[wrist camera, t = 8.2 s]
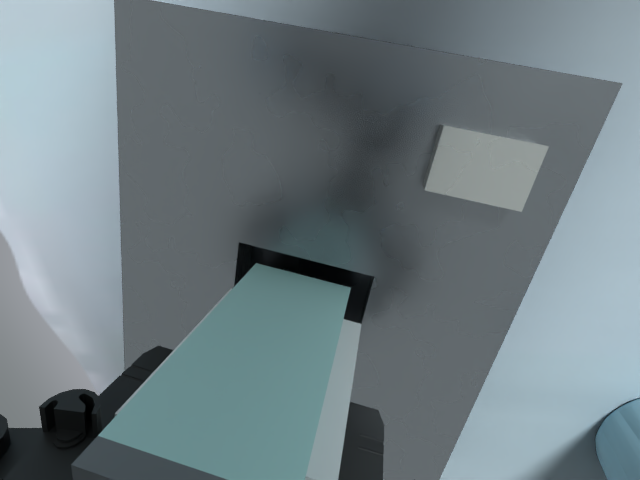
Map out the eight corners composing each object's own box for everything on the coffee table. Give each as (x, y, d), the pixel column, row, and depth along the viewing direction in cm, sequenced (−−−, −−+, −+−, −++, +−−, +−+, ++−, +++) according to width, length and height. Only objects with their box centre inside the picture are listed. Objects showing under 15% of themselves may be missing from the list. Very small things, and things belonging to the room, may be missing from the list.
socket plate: (151, 10, 14) (95, -15, 11) (586, 87, 12) (640, 81, 9) (149, 370, 20) (114, 408, 18) (428, 456, 18) (433, 513, 16)
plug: (256, 262, 14) (71, 464, 6) (350, 287, 14) (289, 542, 6) (243, 359, 16) (87, 615, 8) (327, 383, 16) (254, 682, 8)
